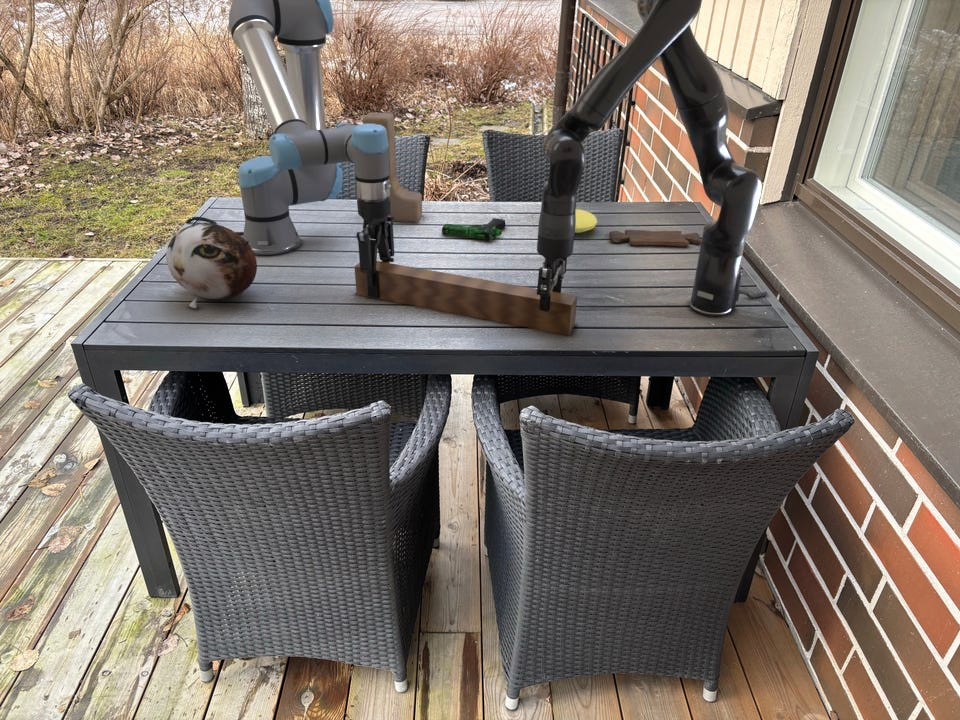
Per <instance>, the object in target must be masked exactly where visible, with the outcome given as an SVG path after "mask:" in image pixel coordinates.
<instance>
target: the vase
mask: <svg viewBox="0 0 960 720" xmlns="http://www.w3.org/2000/svg"><path fill="white" fill-rule="evenodd" d="M575 216H576V225H575V234H580V233H584V232H585V233H586V232H587V231H591V230H592V229H594V228H596V226H597V223H598V219H597V217H596V215H595V214H593V213H591V212H589V211H587V210H584V209H578V208H576V213H575Z"/></svg>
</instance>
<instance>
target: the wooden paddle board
mask: <svg viewBox="0 0 960 720" xmlns="http://www.w3.org/2000/svg"><path fill="white" fill-rule="evenodd" d="M608 235H609V239H610V241H611V243H614V244H620V243H625V242H628V243H629V245H630V246H648V245H649V246H676V247H686V246H687V247H688V246H690V245H689V244H690V243H691V244H696V245H701V237H700V234H699V233H697V232H692V233H685V234H682V230H643V229H642V230H640V229H624V232H621V231H619V230H611V231H609V233H608Z"/></svg>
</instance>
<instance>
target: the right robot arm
mask: <svg viewBox="0 0 960 720" xmlns="http://www.w3.org/2000/svg"><path fill="white" fill-rule="evenodd" d="M702 1H703V0H636V7H637V13H638V16H639V18H640V20H641V21H642V25H641V27H640V28H639V29H638V30H637V33H636V34H635V35H634V36H633V37H632V39H631V40H630V41H629V42H628V43H627V44H626V46H624V47H623V48H622V49H621V50H620V51H619V52H618V53H617V54H616V55H614V56H613V57H612V58H611V59H610V60H609V61H607V63H605V64H604V65H603V66H602V67H601V68H600V69H599V70H598V71H597V72H596V73H595V75H593V77H592V78H591V80H590V81H589V82H588V83H587V85H586V86H585V88H584V89H583V90H582V92H581V93H580V95H579V97H578V98H577V99H576V101H575V102H574V103H573V105H572V107H570V109H568V111H566V112H565V113H564V115H562V117H560V118H559V120H557V122H556V123H555V124H554V125H553V126H552V127H551V128H550V129H549V131H548V132H547V134H546V135H545V138H544V140H543V143H542V149H541V151H542V155H543V157H544V159H545V160H546V162H548V163H549V170H548V177H547V181H545V183H544V185H543V187H542V192H541V204H540V213H539V218H538V227H537V240H536V241H537V242H536V252H537V253H538V255H540V256H541V257H544V261H543V262H542V264H541V266H540V267H539V268H538V274H537V275H538V277H537V287H536V289H537V295H540V305H539V309H540V310H541V311H546V312H548V311H549V310H550V304H551V295H552V291H553V292H559V293H562V285H563V280H564V278H565V274H566V273H567V264H568V258H570V257H571V256H572V255H573V253H574V243H575V234H576V233H575V225H576V216H575V213H576V209H577V201H578V200H577V199H578V190H579V186H580V185H581V182H582V177H583V174H584V170H585V167H586V166H585V165H586V148H585V145H584V143H583V142H584V141H585V140H586V139H587V138H588V137H589V136H590V134H591V133H593V132H599V131H600V130H602V128H603V127H604V126H605V125H606V124H607V122H608V120H610V118H611V117H612V115H614V113H615V111H616V110H617V108H618V107H619V106H620V104H621V103H622V101H623V100H624V99H625V97H626V96H627V95H628V94H629V92H630V91H631V90H632V88H633V87H634V86H635V85H636V83H637V82H638V81H639V80H640V79H641V78H642V77H643V75H644V74H645V73H646V72H647V71H648V70H649V69H650V68H651V67H652V65H653V64H654V63H655V62H656V61H657V60H658V59H660V61H661V64H662V68H663V71H664V74H665V77H666V80H667V83H668V85H669V88H670V91H671V93H672V97H673V100H674V103H675V107H676V109H677V112H678V113H679V117H680V120H681V122H682V125H683V126H684V129H685V133H686V134H687V137H688V140H689V142H690V145H691V147H692V150H693V152H694V155H695V158H696V163H697V166H698V170H699V175H700V179H701V182H702V183H701V184H702V187H703V190H704V193H705V195H706V198H708V200H709V201H710V202H712V203H713V204H715V205H716V206H719V207H720V210H719V214H718V216H717V219H712V220H709V221H708V222H706V223H705V224H704V226H703V230H702V236H701V240H700V247H699V253H698V259H697V263H696V269H695V274H694V281H693V285H692V291H691V296H690V300H689V308H691V309H692V310H693V311H694V312H696V313H697V314H701V315H704V316H710V317H722V316H726V315H729V314H731V312H735V309H736V304H737V303H738V302H739V299H740V295H745V296H747V297H748V298H750V299H756V298H760V297H763V296H767V295H768V292H767V291H762V292H759V293H756V294H751V293H750V292H748V291H745V290H741V289H740V287H741V282H742V278H743V273H742V271H740V269H741V264H742V258H743V254H744V250H745V245H746V241H747V237H748V234H750V231H751V230H752V228H753V225H754V223H755V220H756V215H757V212H758V208H759V205H760V202H761V197H762V193H763V192H762V191H763V182H762V178H761V176H760V175H759V174H758V173H757V172H756V171H754V170H752V169H750V168H747V167H746V166H743V165H741V164H738V162H737V161H736V160H735V158H734V156H733V154H732V152H731V150H730V147H729V144H728V139H727V129H728V124H729V120H730V106H729V101H728V97H727V94H726V91H725V87H724V85H723V82H722V79H721V77H720V75H719V74H718V71H717V70H716V68H715V66H714V64H713V63H712V61H711V60H710V58H709V57H708V56H707V54H706V53H705V51H704V49H702V47H701V46H700V44H699V43H698V40H697V39H696V37H695V34H694V33H693V29H692V27H691V24H692V23H693V22H694V20H695V19H696V17H697V16H698V14H699V12H700V10H701V6H702ZM545 287H546V288H545Z"/></svg>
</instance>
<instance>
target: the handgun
mask: <svg viewBox="0 0 960 720" xmlns="http://www.w3.org/2000/svg"><path fill="white" fill-rule="evenodd" d="M505 228H506V220H505V219H503V218H497V217H492V219H491V220H490V221H489V222H488V223H483V224H482V225H479V224H472V225H459V224H453V223H445V224H443V226H442V227H441V235H446V236H454V237H462V238H469V239H470V238H471V239H474V240H479V241H484V242H491V241H492V240H494V239H495V238H497V237H500V236H502V230H504V229H505Z"/></svg>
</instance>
